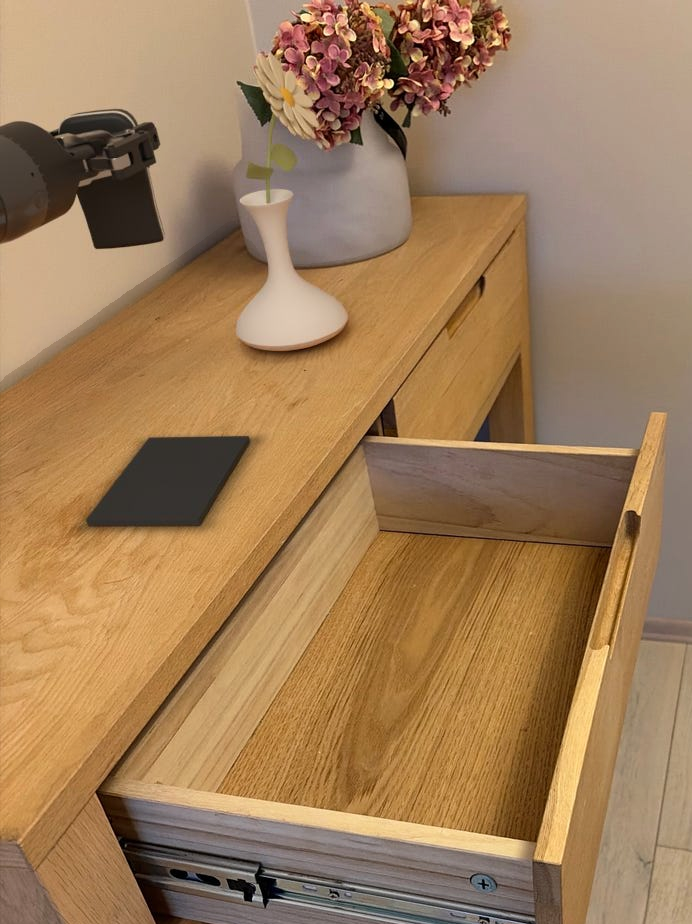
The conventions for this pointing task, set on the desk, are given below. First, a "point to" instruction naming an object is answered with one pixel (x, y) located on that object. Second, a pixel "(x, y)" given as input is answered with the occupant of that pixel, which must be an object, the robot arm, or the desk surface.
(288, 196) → the flower in vase
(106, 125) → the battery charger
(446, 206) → the desk surface
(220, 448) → the mat
